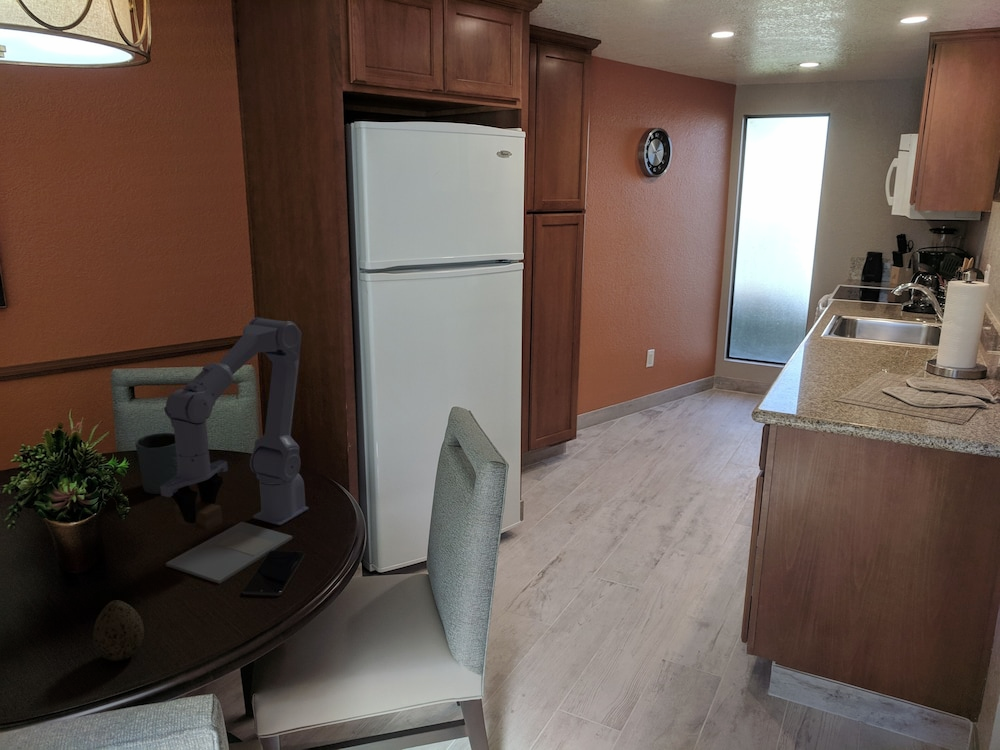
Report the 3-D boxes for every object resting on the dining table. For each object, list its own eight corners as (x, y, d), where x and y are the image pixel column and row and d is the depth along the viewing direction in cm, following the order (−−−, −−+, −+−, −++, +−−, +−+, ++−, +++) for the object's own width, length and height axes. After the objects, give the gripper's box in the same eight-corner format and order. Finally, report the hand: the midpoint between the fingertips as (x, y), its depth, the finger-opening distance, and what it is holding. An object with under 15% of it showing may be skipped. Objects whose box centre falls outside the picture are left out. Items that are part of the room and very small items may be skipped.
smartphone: (305, 551, 152) (280, 593, 136) (305, 556, 152) (280, 598, 136) (269, 550, 152) (240, 591, 136) (269, 554, 152) (240, 597, 137)
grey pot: (153, 477, 187) (148, 432, 184) (193, 478, 186) (189, 433, 183) (132, 494, 177) (126, 446, 174) (175, 496, 177) (169, 448, 173)
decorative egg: (152, 641, 123) (145, 587, 120) (139, 669, 116) (131, 612, 113) (105, 645, 122) (97, 590, 119) (89, 673, 115) (80, 616, 112)
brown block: (222, 522, 147) (221, 506, 146) (206, 531, 144) (205, 514, 143) (192, 514, 151) (190, 498, 150) (176, 522, 147) (174, 505, 146)
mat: (242, 524, 163) (241, 521, 163) (292, 538, 158) (292, 535, 157) (166, 565, 146) (165, 562, 146) (219, 583, 140) (219, 580, 140)
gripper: (206, 436, 151) (212, 498, 155) (145, 460, 139) (153, 527, 142) (233, 442, 148) (238, 505, 152) (173, 467, 136) (180, 535, 139)
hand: (199, 517), depth 147 cm, fingers closed on brown block, 4 cm apart
